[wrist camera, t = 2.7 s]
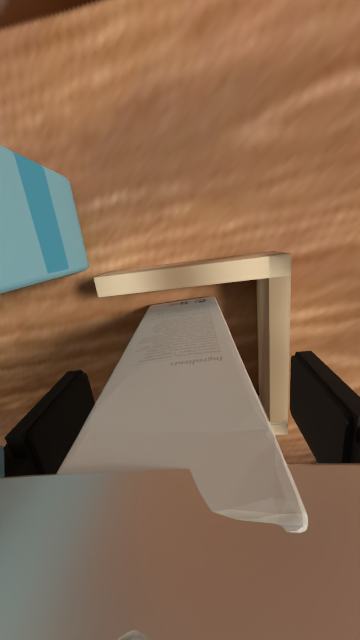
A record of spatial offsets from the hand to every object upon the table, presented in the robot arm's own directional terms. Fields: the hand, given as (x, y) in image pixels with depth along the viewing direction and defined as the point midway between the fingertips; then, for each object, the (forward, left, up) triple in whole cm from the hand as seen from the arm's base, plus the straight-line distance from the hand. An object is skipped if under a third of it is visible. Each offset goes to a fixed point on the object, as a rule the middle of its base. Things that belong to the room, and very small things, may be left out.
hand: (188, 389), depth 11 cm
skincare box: (0, 0, -5) cm, 5 cm away
